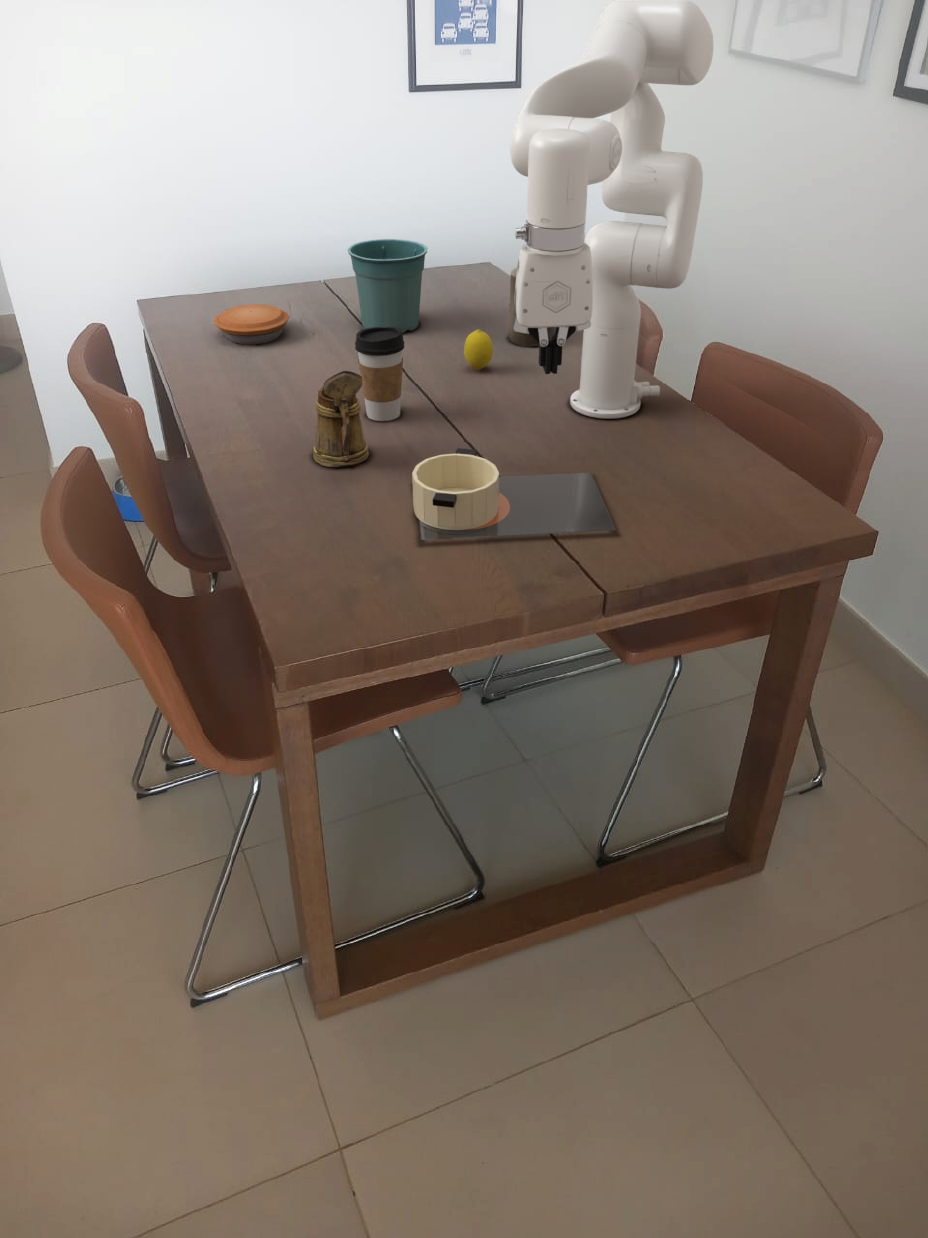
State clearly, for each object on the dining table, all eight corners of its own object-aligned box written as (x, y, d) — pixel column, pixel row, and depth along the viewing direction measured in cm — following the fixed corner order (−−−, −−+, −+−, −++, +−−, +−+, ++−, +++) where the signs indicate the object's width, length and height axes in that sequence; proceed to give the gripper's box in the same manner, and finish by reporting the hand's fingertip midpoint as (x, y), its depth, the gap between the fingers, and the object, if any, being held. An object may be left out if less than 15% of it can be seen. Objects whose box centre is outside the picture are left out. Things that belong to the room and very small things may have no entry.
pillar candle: (541, 350, 202) (544, 275, 194) (500, 341, 207) (501, 267, 198) (563, 335, 209) (567, 263, 200) (523, 327, 213) (525, 255, 205)
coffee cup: (400, 426, 173) (397, 341, 164) (353, 422, 174) (347, 338, 166) (412, 406, 180) (409, 324, 171) (367, 403, 181) (362, 321, 172)
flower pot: (385, 307, 224) (382, 233, 214) (444, 322, 216) (443, 245, 207) (337, 328, 213) (331, 251, 204) (396, 344, 205) (393, 264, 196)
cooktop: (590, 476, 158) (591, 471, 157) (615, 534, 143) (616, 529, 143) (414, 484, 156) (414, 480, 155) (421, 544, 141) (421, 539, 141)
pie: (306, 330, 212) (303, 307, 209) (256, 353, 201) (253, 329, 198) (251, 317, 219) (248, 295, 216) (200, 339, 208) (197, 315, 205)
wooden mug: (324, 484, 156) (313, 374, 145) (309, 447, 166) (298, 342, 156) (379, 476, 158) (373, 367, 147) (361, 441, 168) (354, 336, 158)
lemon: (459, 372, 193) (459, 332, 188) (470, 363, 197) (470, 323, 192) (486, 377, 191) (486, 336, 186) (496, 366, 195) (497, 326, 190)
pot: (506, 487, 153) (507, 451, 150) (486, 541, 140) (487, 504, 137) (428, 479, 155) (427, 444, 152) (401, 532, 142) (399, 495, 139)
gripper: (501, 246, 125) (500, 383, 136) (618, 241, 127) (607, 378, 138) (494, 229, 131) (493, 362, 142) (606, 225, 132) (596, 357, 144)
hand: (549, 369), depth 140 cm, fingers closed
